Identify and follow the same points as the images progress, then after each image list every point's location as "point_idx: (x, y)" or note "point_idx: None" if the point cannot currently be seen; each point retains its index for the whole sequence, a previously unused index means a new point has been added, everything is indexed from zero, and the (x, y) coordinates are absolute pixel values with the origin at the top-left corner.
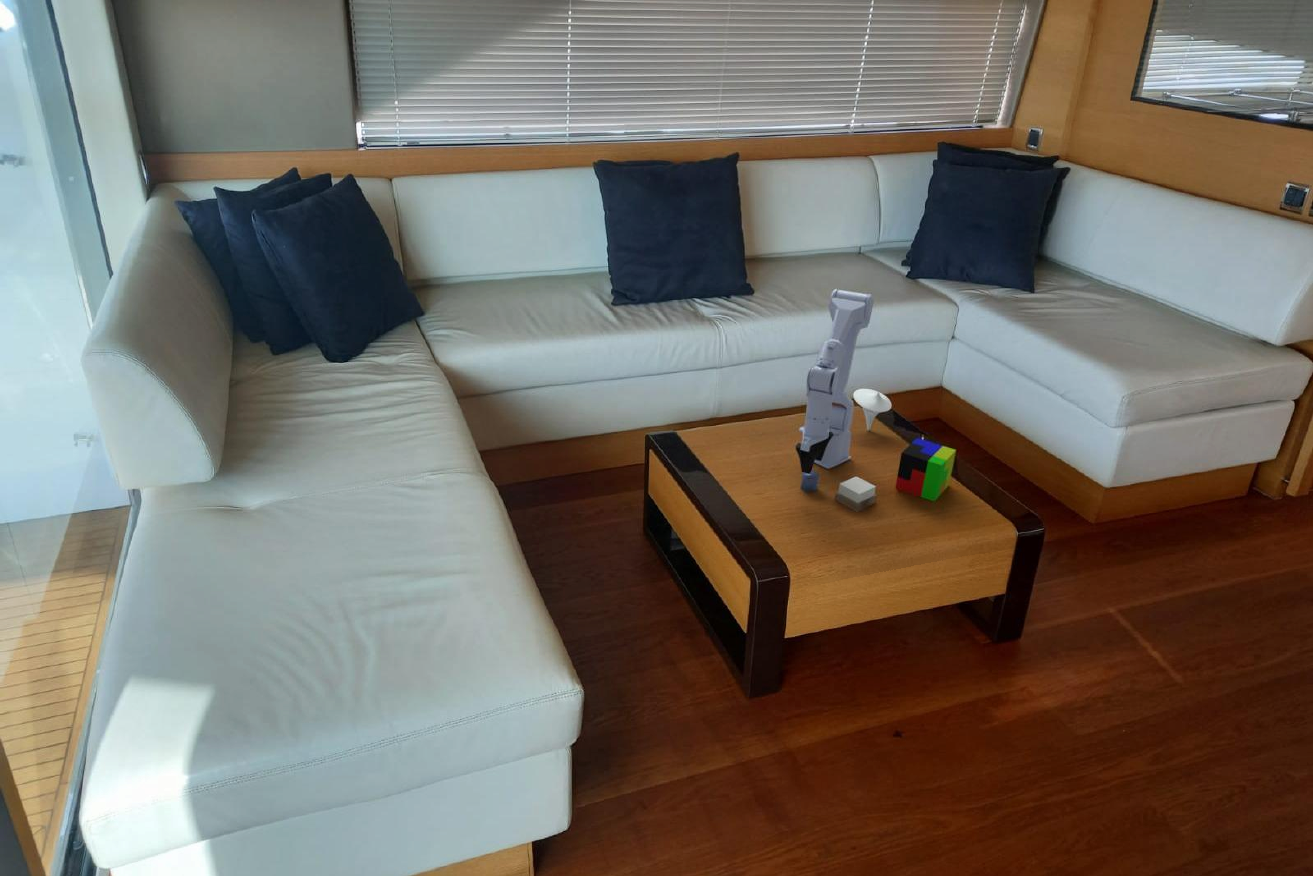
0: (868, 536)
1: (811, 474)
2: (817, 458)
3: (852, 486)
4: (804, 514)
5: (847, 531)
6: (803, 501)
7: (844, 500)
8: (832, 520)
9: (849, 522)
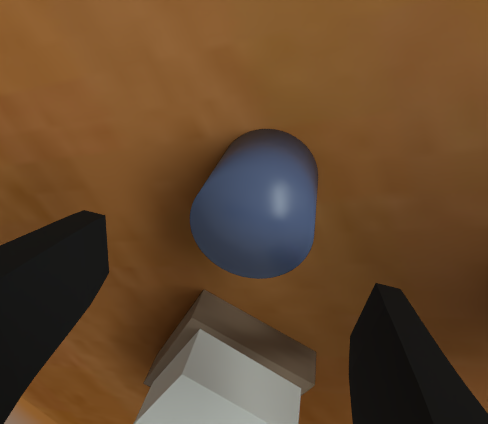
0: None
1: (246, 235)
2: (360, 330)
3: (184, 414)
4: (12, 181)
5: None
6: (115, 164)
7: (175, 336)
8: None
9: (74, 329)
